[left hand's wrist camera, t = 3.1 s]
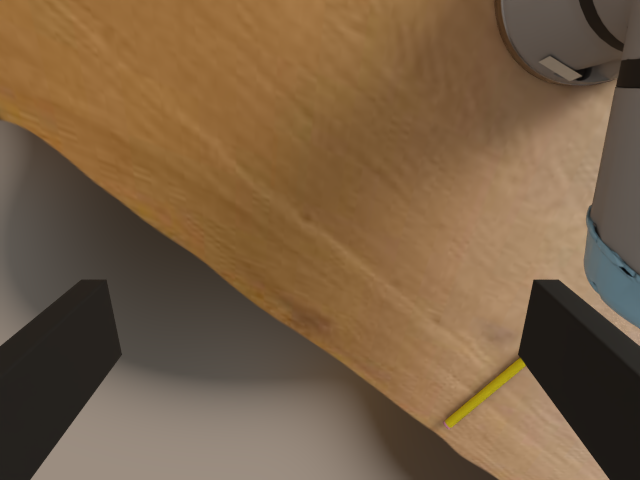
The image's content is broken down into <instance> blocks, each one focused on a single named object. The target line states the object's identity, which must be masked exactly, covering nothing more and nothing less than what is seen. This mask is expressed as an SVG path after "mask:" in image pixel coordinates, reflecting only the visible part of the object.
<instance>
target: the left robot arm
mask: <svg viewBox="0 0 640 480" xmlns="http://www.w3.org/2000/svg"><path fill="white" fill-rule="evenodd" d="M495 12H496V19H497V25H498V28H499V32H500V35H501V37H502V40H503V42H504V44H505V46H506V48H507V50H508V51H509V53H510V54H511V56H512V57H513V58H514V59H515V61H516V62H517V63H518V64H519V65H520V66H521V67H522V68H524V69H525V70H526V71H527V72H529V73H530V74H532V75H534V76H535V77H537V78H539V79H542V80H544V81H547V82H551V83H554V84H560V85H593V84H600V83H604V82H608V81H611V80H614V79H617V78H618V80H617V85H616V86H617V87H615V91H614V97H613V102H612V107H611V112H610V117H609V122H608V127H607V132H606V137H605V143H604V148H603V153H602V158H601V163H600V168H599V173H598V178H597V183H596V188H595V194H594V198H593V203H592V205H591V206H589V208H588V211H587V217H586V223H587V227H588V231H587V240H586V248H585V255H584V269H585V274H586V276H587V279H588V281H589V283H590V284H591V286H592V287H593V288H594V290H595V291H596V292H597V293H598V294H600V296H601V299H602V300H603V301H604V302H605V303H606V304H607V305H608V306H609V307H610V308H611V309H613V310H614V311H615V312H616V313H617V314H619V315H620V316H621V317H623V318H624V319H626V320H627V321H629V322H630V323H632V324H633V325H635V326H636V327H638V328H640V0H495ZM121 355H122V353H121V348H120V343H119V339H118V334H117V329H116V324H115V319H114V314H113V309H112V305H111V300H110V295H109V290H108V285H107V281H106V280H81V281H79V282H78V283H77V284H76V285H74V286H73V287H72V288H71V289H70V290H68V291H67V292H66V293H65V294H63V295H62V296H61V297H60V298H59V299H57V300H56V301H55V302H54V303H52V304H51V305H50V306H49V307H48V308H46V309H45V310H44V311H43V312H42V313H40V314H39V315H38V316H37V317H35V318H34V319H33V320H32V321H31V322H29V323H28V324H27V325H26V326H24V327H23V328H22V329H21V330H20V331H18V332H17V333H16V334H15V335H13V336H12V337H11V338H10V339H9V340H7V341H6V342H5V343H4V344H2V345H1V346H0V480H30V479H31V478H32V477H33V475H34V474H35V473H36V471H37V470H38V468H39V467H40V466H41V464H42V463H43V462H44V460H45V459H46V458H47V456H48V455H49V453H50V452H51V451H52V449H53V448H54V447H55V445H56V444H57V442H58V441H59V440H60V438H61V437H62V436H63V434H64V433H65V432H66V430H67V429H68V427H69V426H70V425H71V423H72V422H73V421H74V419H75V418H76V416H77V415H78V414H79V412H80V411H81V410H82V408H83V407H84V406H85V404H86V403H87V402H88V400H89V399H90V397H91V396H92V395H93V393H94V392H95V391H96V389H97V388H98V386H99V385H100V384H101V382H102V381H103V380H104V378H105V377H106V375H107V374H108V373H109V371H110V370H111V369H112V367H113V366H114V365H115V363H116V362H117V361H118V359H119V358H120V356H121ZM518 355H519V356H520V358H521V359H522V361H523V362H524V363H525V365H526V366H527V367H528V369H529V370H530V371H531V373H532V374H533V376H534V377H535V378H536V380H537V381H538V382H539V384H540V385H541V387H542V388H543V389H544V391H545V392H546V393H547V395H548V396H549V397H550V399H551V400H552V402H553V403H554V404H555V406H556V407H557V408H558V410H559V411H560V412H561V414H562V415H563V417H564V418H565V419H566V421H567V422H568V423H569V425H570V426H571V427H572V429H573V430H574V432H575V433H576V434H577V436H578V437H579V438H580V440H581V441H582V442H583V444H584V445H585V447H586V448H587V449H588V451H589V452H590V453H591V455H592V456H593V458H594V459H595V460H596V462H597V463H598V464H599V466H600V467H601V468H602V470H603V471H604V473H605V474H606V475H607V477H608V478H609V479H610V480H640V346H639V345H638V344H636V343H635V342H634V341H633V340H631V339H630V338H629V337H628V336H627V335H625V334H624V333H623V332H622V331H620V330H619V329H618V328H617V327H616V326H614V325H613V324H612V323H611V322H609V321H608V320H607V319H606V318H605V317H603V316H602V315H601V314H600V313H599V312H597V311H596V310H595V309H594V308H592V307H591V306H590V305H589V304H588V303H586V302H585V301H584V300H583V299H581V298H580V297H579V296H578V295H577V294H575V293H574V292H573V291H572V290H570V289H569V288H568V287H567V286H566V285H564V284H563V283H562V282H561V281H559V280H533V285H532V290H531V295H530V300H529V305H528V309H527V314H526V319H525V324H524V329H523V334H522V338H521V343H520V348H519V353H518Z"/></svg>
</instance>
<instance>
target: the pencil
mask: <svg viewBox="0 0 640 480" xmlns="http://www.w3.org/2000/svg"><path fill="white" fill-rule="evenodd" d="M525 366H526V365H525V363H524V362H523V361H522V359H521V358H519V359H518V360H516V361H515V362H514V363H513V364H512V365H510V366H509V367H508V368H507V369H506V370H505V371H503V372H502V373H501V374H500V375H499V376H497V377H496V378H495V379H494V380H493V381H491V382H490V383H489V384H488V385H487V386H485V387H484V388H483V389H482V390H481V391H480V392H478V393H477V394H476V395H475V396H474V397H472V398H471V399H470V400H469V401H468V402H466V403H465V404H464V405H463V406H462V407H460V408H459V409H458V410H457V411H456V412H455V413H453V414H452V415H451V416H450V417H449V418H447V419H446V420H445V421H444V425H445V427H446V428H448V429H450V428H451V427H453V426H454V425H455V424H456V423H457V422H459V421H460V420H461V419H462V418H463V417H465V416H466V415H467V414H468V413H469V412H471V411H472V410H473V409H474V408H476V407H477V406H478V405H479V404H480V403H482V402H483V401H484V400H485V399H486V398H488V397H489V396H490V395H491V394H492V393H494V392H495V391H496V390H497V389H498V388H500V387H501V386H502V385H503V384H504V383H506V382H507V381H508V380H509V379H510V378H512V377H513V376H514V375H515V374H517V373H518V372H519V371H520V370H521V369H523V368H524V367H525Z"/></svg>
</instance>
